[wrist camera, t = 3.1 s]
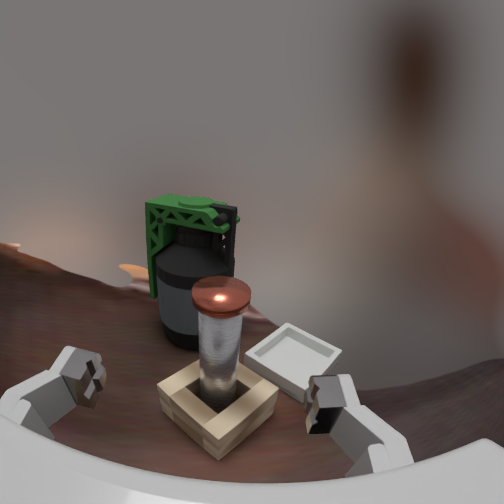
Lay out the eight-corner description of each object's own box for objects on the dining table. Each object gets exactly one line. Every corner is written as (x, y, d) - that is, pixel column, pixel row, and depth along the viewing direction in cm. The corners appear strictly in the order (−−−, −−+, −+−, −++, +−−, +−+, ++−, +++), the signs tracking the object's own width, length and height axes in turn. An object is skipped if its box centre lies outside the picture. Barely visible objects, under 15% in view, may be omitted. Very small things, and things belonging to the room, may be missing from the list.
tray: (302, 403, 32) (306, 390, 31) (243, 366, 37) (244, 353, 36) (337, 362, 39) (342, 350, 38) (284, 334, 44) (286, 322, 43)
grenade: (169, 299, 50) (167, 186, 42) (240, 321, 46) (251, 198, 38) (133, 332, 41) (118, 201, 33) (212, 363, 37) (216, 218, 29)
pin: (217, 437, 26) (221, 314, 20) (189, 412, 29) (179, 287, 22) (246, 414, 30) (263, 291, 23) (217, 393, 32) (221, 270, 26)
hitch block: (218, 460, 24) (218, 439, 22) (162, 410, 29) (156, 384, 27) (272, 413, 30) (279, 388, 28) (217, 375, 35) (218, 347, 33)
